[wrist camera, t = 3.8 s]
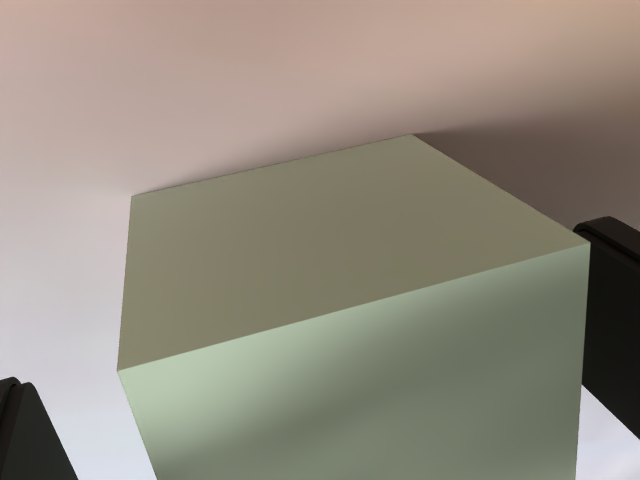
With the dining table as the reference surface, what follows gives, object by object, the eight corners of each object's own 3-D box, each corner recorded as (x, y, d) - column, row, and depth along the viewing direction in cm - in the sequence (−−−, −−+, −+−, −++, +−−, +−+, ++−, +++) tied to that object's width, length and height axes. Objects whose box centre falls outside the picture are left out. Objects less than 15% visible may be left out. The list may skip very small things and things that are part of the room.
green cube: (409, 133, 13) (590, 242, 8) (426, 353, 16) (570, 549, 10) (131, 195, 12) (116, 371, 7) (200, 420, 14) (230, 675, 9)
